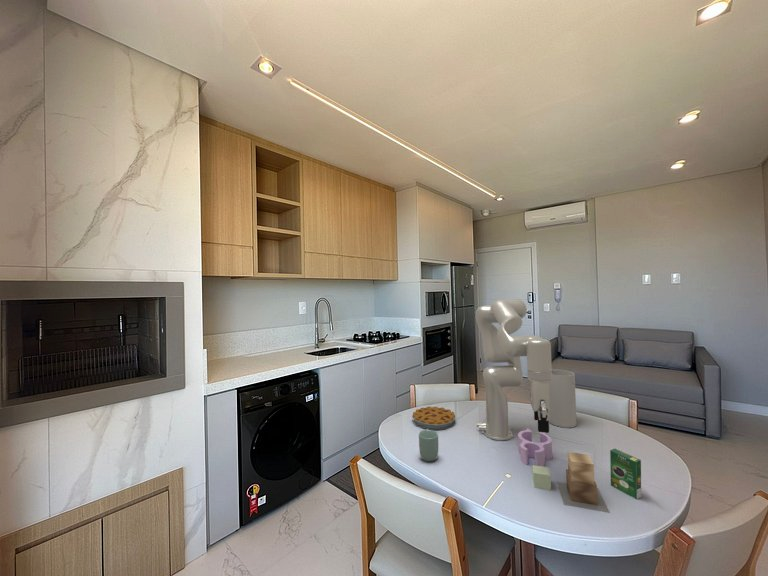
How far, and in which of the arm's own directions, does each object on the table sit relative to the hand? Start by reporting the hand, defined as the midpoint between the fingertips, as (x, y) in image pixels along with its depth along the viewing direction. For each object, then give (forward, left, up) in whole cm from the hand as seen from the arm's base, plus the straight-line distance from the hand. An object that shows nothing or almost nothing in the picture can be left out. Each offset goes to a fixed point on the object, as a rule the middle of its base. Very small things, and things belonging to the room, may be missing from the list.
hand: (541, 425), depth 106 cm
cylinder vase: (+15, +59, -21) cm, 64 cm away
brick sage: (-1, 0, -21) cm, 21 cm away
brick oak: (+10, -3, -14) cm, 17 cm away
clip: (-1, +20, -21) cm, 29 cm away
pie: (-46, +43, -21) cm, 66 cm away
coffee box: (+24, +4, -21) cm, 32 cm away
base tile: (+10, -3, -21) cm, 23 cm away
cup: (-41, +7, -21) cm, 46 cm away
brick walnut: (+10, -3, -20) cm, 22 cm away
